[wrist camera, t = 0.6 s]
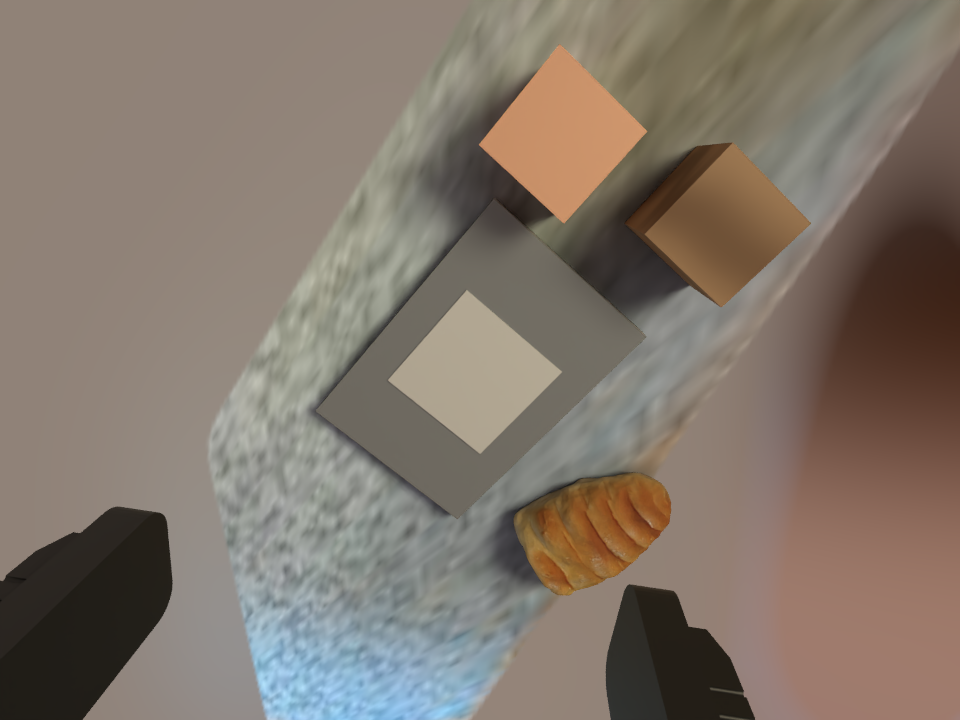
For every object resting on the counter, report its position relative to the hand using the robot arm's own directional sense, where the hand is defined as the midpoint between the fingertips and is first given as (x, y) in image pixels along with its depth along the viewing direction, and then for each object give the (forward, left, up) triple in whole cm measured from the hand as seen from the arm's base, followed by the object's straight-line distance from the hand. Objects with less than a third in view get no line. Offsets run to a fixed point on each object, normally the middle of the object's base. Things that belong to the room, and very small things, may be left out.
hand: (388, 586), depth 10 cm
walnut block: (-11, +6, -23) cm, 26 cm away
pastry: (+6, +15, -23) cm, 28 cm away
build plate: (+3, +3, -23) cm, 23 cm away
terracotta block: (-9, -2, -23) cm, 25 cm away
